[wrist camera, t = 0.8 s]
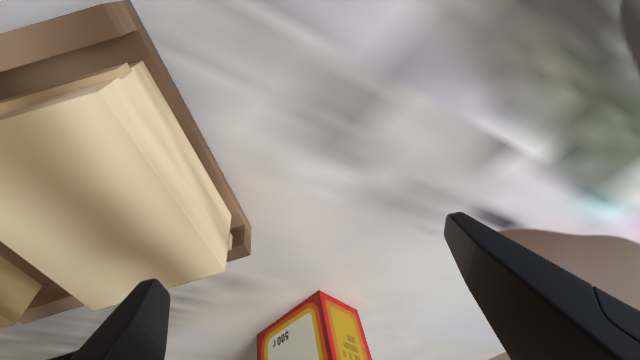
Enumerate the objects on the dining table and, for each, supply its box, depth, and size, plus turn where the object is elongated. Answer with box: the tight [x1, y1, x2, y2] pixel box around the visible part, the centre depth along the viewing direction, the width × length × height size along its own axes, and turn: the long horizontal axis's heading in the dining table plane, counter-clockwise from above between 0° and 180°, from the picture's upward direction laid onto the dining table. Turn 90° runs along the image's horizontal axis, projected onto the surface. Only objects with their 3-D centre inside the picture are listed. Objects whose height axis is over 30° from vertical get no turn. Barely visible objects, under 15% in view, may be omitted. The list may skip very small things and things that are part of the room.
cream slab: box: [0, 60, 233, 311], centre depth 16 cm, size 8×12×5 cm
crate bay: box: [0, 0, 251, 329], centre depth 17 cm, size 17×16×4 cm
